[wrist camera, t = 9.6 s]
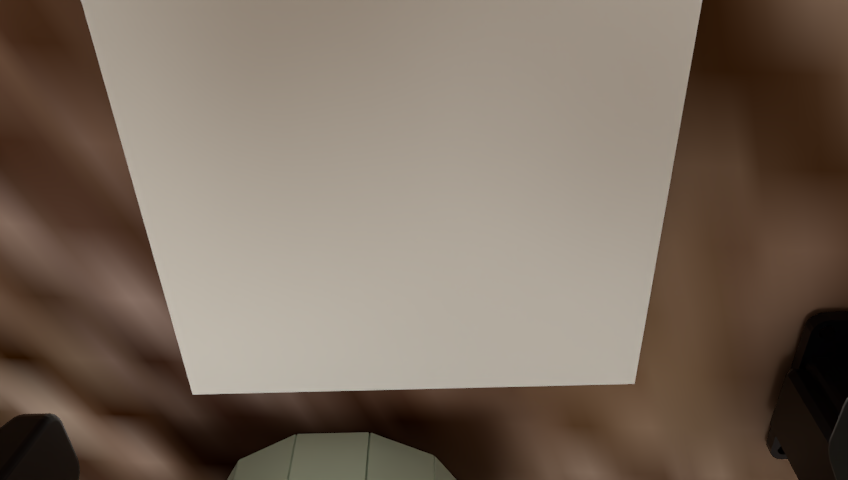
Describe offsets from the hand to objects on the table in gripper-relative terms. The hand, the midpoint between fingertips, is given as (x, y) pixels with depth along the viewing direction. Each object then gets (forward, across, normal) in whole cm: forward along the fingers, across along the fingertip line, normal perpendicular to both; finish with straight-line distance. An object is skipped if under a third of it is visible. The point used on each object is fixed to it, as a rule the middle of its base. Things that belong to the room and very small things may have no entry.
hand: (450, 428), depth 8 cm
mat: (+12, +1, +4) cm, 13 cm away
